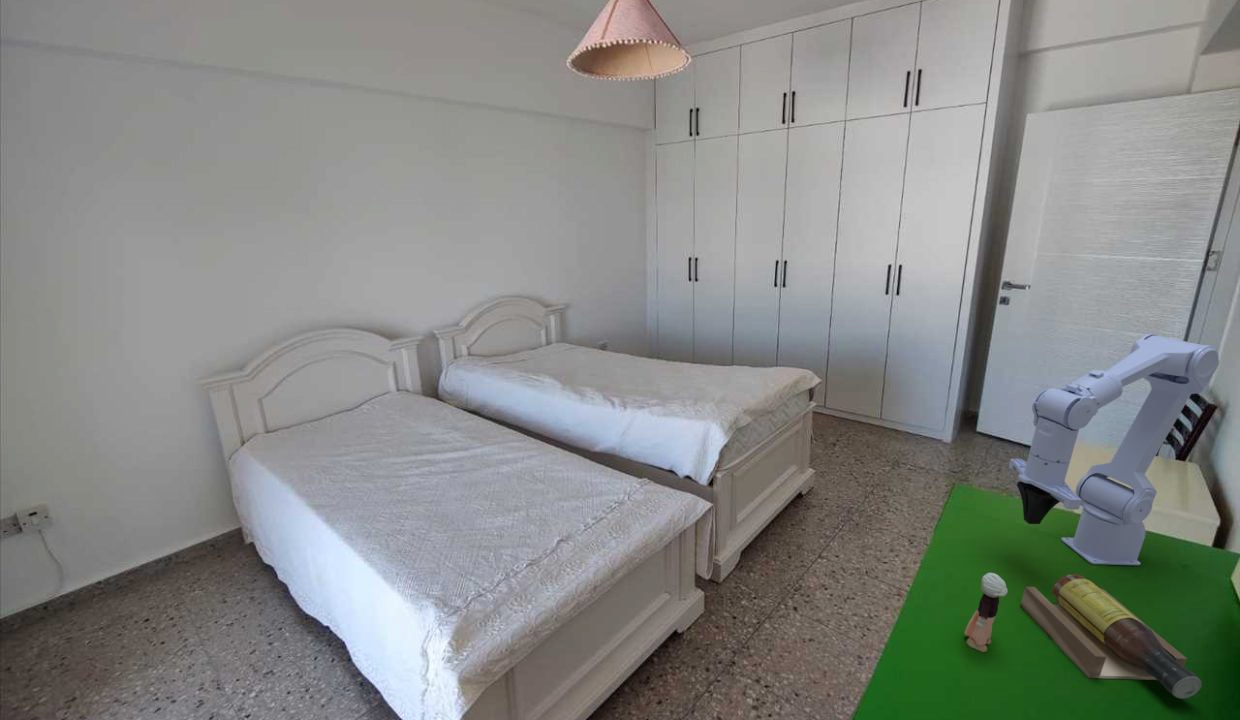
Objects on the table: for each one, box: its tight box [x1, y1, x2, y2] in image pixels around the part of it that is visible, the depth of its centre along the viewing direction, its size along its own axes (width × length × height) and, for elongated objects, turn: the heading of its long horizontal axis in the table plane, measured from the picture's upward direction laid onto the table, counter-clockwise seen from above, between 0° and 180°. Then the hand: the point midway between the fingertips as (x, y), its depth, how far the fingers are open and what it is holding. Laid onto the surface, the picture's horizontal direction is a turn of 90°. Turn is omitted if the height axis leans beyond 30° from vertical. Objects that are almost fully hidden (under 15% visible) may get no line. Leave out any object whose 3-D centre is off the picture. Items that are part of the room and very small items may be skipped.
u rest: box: [1019, 586, 1188, 681], centre depth 85 cm, size 13×14×4 cm
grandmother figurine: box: [964, 572, 1009, 653], centre depth 83 cm, size 8×4×13 cm, turn 141°
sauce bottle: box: [1051, 573, 1202, 699], centre depth 82 cm, size 6×6×20 cm
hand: (1031, 521), depth 99 cm, fingers closed
